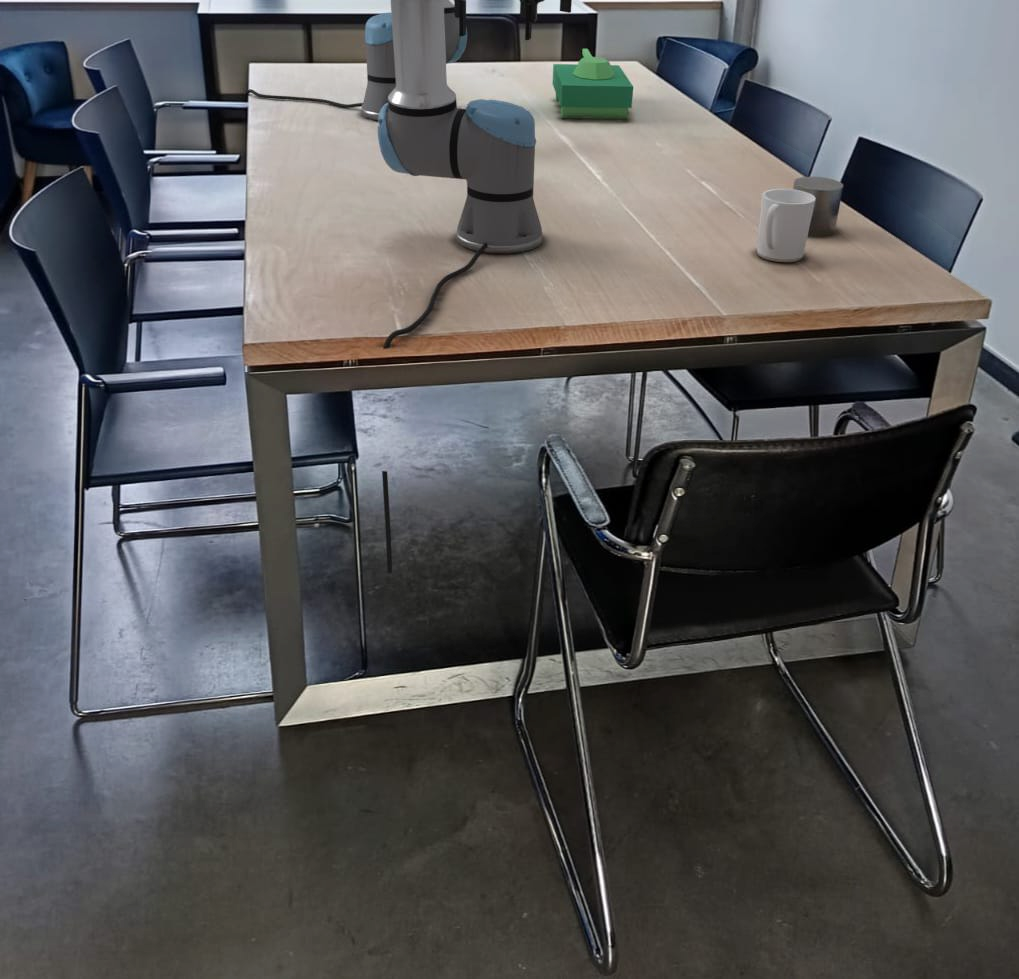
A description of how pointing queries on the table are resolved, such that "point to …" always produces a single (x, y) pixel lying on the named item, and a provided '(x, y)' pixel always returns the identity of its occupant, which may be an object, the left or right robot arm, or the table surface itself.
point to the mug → (784, 224)
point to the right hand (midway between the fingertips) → (495, 37)
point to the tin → (822, 203)
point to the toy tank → (592, 89)
